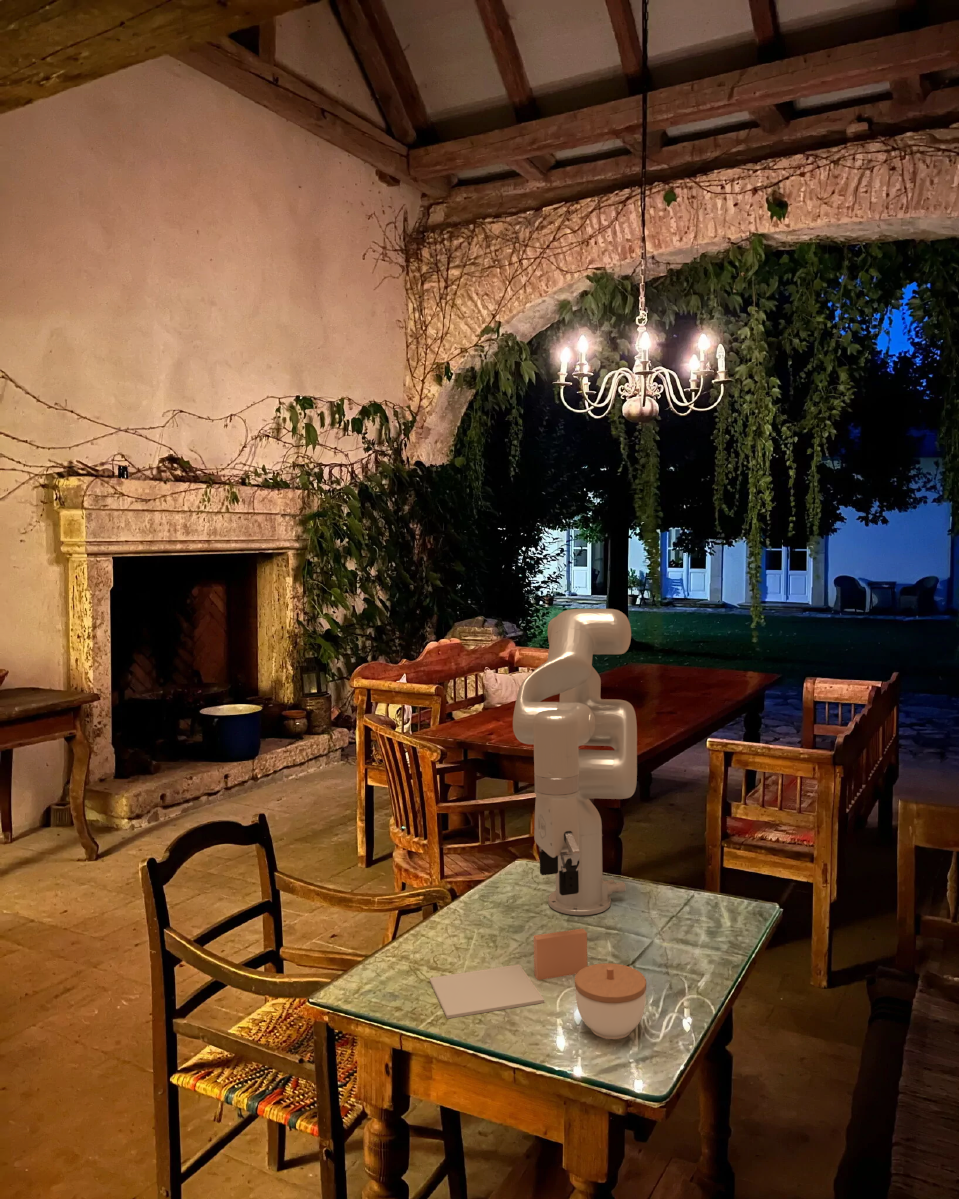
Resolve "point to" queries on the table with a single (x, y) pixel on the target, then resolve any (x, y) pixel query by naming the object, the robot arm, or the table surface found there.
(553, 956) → the block
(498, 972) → the mat
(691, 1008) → the table surface
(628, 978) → the lidded jar
